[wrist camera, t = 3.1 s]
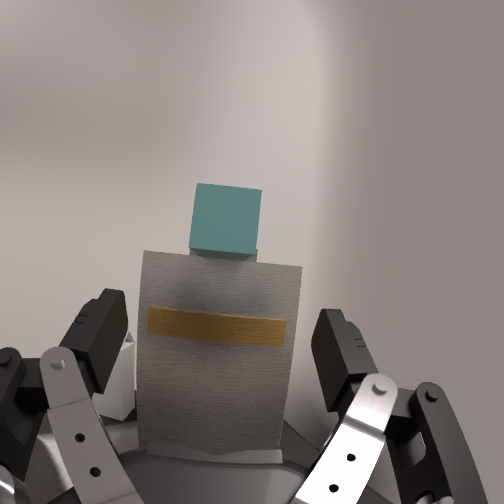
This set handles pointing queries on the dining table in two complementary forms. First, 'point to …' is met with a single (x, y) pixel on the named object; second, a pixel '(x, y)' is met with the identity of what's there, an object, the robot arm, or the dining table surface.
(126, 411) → the milk carton
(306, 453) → the dining table surface
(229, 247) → the teal tapered block
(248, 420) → the tall grey box
